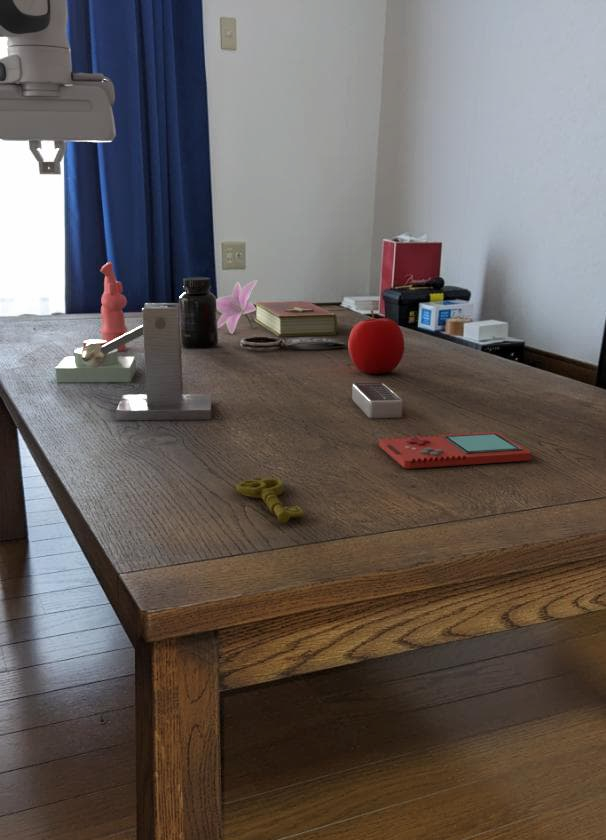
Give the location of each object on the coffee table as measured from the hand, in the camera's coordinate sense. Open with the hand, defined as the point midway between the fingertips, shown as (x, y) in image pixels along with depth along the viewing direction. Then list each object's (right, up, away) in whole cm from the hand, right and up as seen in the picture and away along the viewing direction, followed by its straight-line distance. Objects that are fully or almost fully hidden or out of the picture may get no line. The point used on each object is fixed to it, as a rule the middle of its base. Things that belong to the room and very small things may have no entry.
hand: (50, 174), depth 136 cm
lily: (+25, -13, +47) cm, 55 cm away
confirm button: (+6, -27, +3) cm, 27 cm away
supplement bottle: (+19, -20, +30) cm, 41 cm away
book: (+36, -11, +51) cm, 64 cm away
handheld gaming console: (+56, -46, -33) cm, 79 cm away
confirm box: (+6, -30, +4) cm, 31 cm away
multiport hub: (+48, -38, -13) cm, 63 cm away
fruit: (+50, -28, +9) cm, 58 cm away
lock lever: (+16, -31, -20) cm, 40 cm away
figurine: (+5, -21, +25) cm, 33 cm away
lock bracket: (+20, -38, -16) cm, 46 cm away
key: (+35, -52, -49) cm, 80 cm away
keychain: (+36, -20, +29) cm, 51 cm away
